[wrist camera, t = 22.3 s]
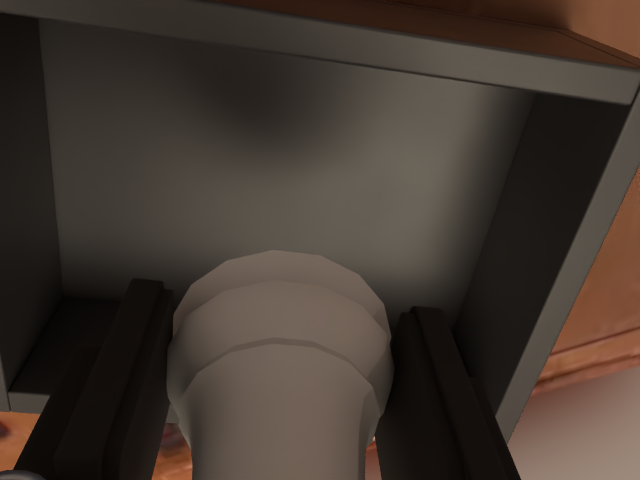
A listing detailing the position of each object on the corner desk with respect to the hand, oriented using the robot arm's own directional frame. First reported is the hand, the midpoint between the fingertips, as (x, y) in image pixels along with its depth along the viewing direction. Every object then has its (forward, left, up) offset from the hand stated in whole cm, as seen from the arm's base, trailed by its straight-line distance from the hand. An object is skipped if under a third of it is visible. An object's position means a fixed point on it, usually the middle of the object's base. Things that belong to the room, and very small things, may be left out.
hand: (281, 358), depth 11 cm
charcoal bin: (0, 0, -9) cm, 9 cm away
